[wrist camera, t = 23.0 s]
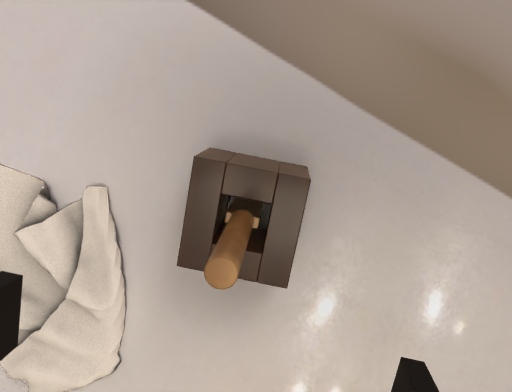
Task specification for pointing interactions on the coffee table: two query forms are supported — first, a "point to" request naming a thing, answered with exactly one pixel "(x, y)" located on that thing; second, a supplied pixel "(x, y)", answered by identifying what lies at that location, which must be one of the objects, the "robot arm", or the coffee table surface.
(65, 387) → the cloth
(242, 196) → the holder
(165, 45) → the coffee table surface
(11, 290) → the robot arm
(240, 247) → the stick
